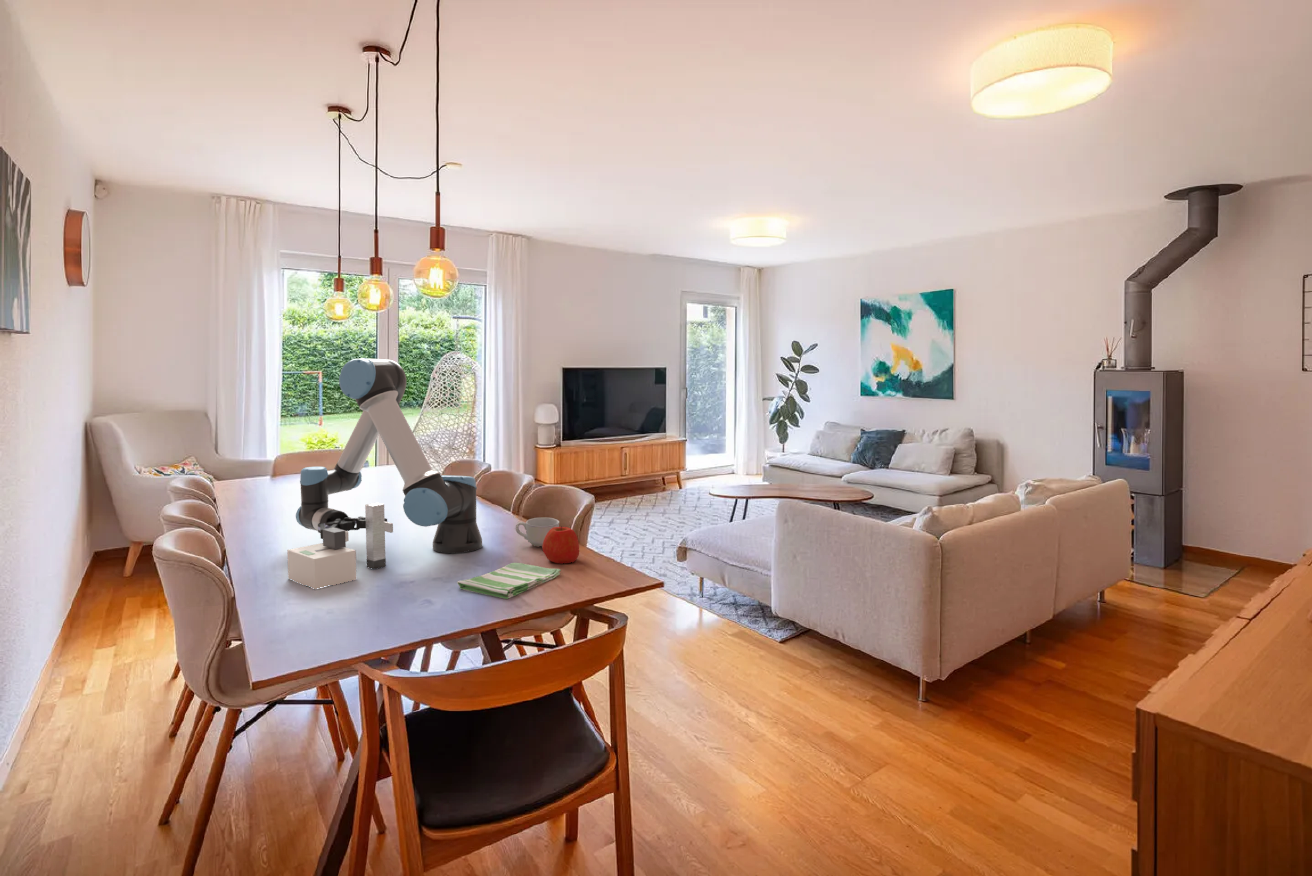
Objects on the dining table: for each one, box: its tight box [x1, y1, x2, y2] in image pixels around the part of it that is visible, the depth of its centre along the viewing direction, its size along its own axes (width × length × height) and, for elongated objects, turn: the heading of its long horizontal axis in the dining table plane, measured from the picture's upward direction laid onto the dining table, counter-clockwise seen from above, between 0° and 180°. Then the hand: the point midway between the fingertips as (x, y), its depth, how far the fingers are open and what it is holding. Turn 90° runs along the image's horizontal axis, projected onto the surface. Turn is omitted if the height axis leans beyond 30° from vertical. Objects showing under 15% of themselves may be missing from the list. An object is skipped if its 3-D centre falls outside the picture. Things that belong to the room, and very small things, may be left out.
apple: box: [541, 526, 580, 565], centre depth 200 cm, size 11×11×11 cm
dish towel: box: [456, 562, 562, 600], centre depth 180 cm, size 18×23×3 cm
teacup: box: [515, 516, 560, 547], centre depth 219 cm, size 14×11×8 cm
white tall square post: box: [364, 502, 387, 570], centre depth 191 cm, size 4×4×18 cm
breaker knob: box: [322, 527, 347, 549], centre depth 182 cm, size 3×6×4 cm, turn 54°
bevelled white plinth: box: [287, 542, 357, 590], centre depth 179 cm, size 11×14×8 cm
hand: (370, 532), depth 192 cm, fingers open, 13 cm apart
